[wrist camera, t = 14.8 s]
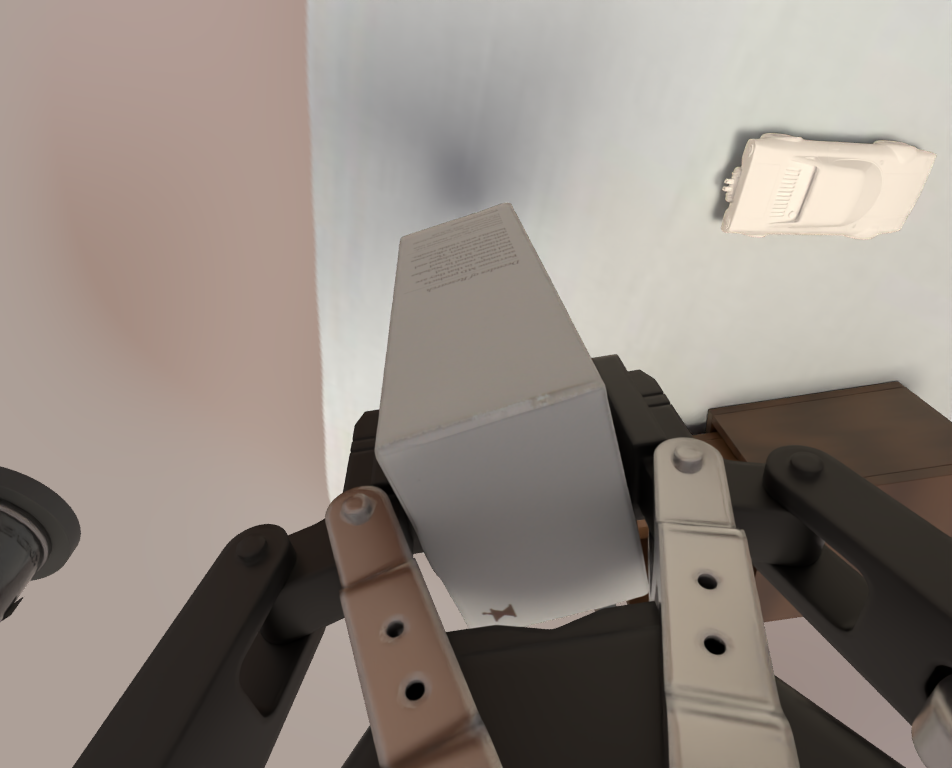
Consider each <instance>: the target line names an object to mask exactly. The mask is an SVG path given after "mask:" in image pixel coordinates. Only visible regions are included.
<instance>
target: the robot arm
mask: <svg viewBox="0 0 952 768" xmlns="http://www.w3.org/2000/svg"><path fill="white" fill-rule="evenodd" d="M591 359H592V361H593V363H594V365H595V367H596V369H597V370H598V372H599V375H600V377H601V379H602V380H603V382H604V384H605V387H606V392H607V398H608V403H609V407H610V411H611V416H612V420H613V424H614V429H615V434H616V438H617V442H618V447H619V451H620V456H621V460H622V465H623V469H624V474H625V478H626V483H627V487H628V491H629V495H630V499H631V503H632V507H633V511H634V515H635V518H636V521H637V520H643V519H645V521H646V523H647V526H648V528H649V532H648V577H649V602H643V603H636V604H629V605H624V606H616V607H610V608H603V609H601V610H598V611H596V612H594V613H591V614H589V615H587V616H584V617H582V618H580V619H577V620H575V621H572V622H570V623H568V624H566V625H563V626H561V627H558V628H556V629H550V630H549V629H537V628H527V627H517V626H506V625H491V626H484V627H477V628H471V629H464V630H458V631H451V632H445V630H444V627H443V625H442V622H441V620H440V617H439V615H438V612H437V610H436V608H435V605H434V603H433V600H432V598H431V595H430V593H429V591H428V588H427V585H426V583H425V581H424V578H423V576H422V573H421V571H420V569H419V566H418V564H417V562H416V559H415V558H413V554H416V553H422V552H424V551H423V549H422V546H421V544H420V541H419V538H418V536H417V534H416V532H415V529H414V527H413V525H412V523H411V521H410V520H409V518H408V516H407V514H406V512H405V511H404V509H403V507H402V505H401V503H400V501H399V499H398V498H397V496H396V494H395V492H394V490H393V488H392V487H391V485H390V483H389V481H388V479H387V478H386V476H385V474H384V472H383V470H382V468H381V467H380V465H379V463H378V461H377V459H376V455H375V442H376V434H377V426H378V420H379V410H380V409H379V410H373V411H367V412H364V414H363V415H362V416H361V418H360V419H359V420H358V422H357V423H356V424H355V428H354V433H353V442H352V444H351V450H350V451H351V453H350V456H349V461H348V467H347V472H346V478H345V484H344V489H343V493H342V494H340V495H339V496H338V497H336V498H335V499H334V500H333V501H332V502H331V504H330V505H329V507H328V509H327V511H326V515H325V519H323V520H322V521H320V522H318V523H317V524H314V525H312V526H310V527H307V528H305V529H303V530H300V531H298V532H295V533H293V534H291V535H287V533H286V531H285V530H284V529H283V528H281V527H280V526H277V525H273V524H264V525H258V526H254V527H252V528H249V529H247V530H245V531H243V532H242V533H240V534H238V535H237V536H236V537H234V538H233V539H232V540H231V541H230V542H229V543H228V544H227V545H226V547H225V548H224V549H223V551H222V552H221V554H220V555H219V556H218V558H217V559H216V561H215V562H214V564H213V565H212V567H211V568H210V569H209V571H208V572H207V574H206V575H205V577H204V578H203V579H202V581H201V582H200V584H199V585H198V587H197V588H196V590H195V591H194V593H193V594H192V595H191V597H190V598H189V600H188V601H187V603H186V604H185V605H184V607H183V609H182V610H181V611H180V613H179V614H178V616H177V617H176V619H175V620H174V621H173V623H172V624H171V626H170V627H169V629H168V630H167V631H166V633H165V635H164V636H163V637H162V639H161V640H160V642H159V643H158V645H157V646H156V648H155V649H154V650H153V652H152V653H151V655H150V656H149V657H148V659H147V660H146V662H145V663H144V665H143V666H142V668H141V669H140V671H139V672H138V673H137V675H136V676H135V678H134V679H133V681H132V682H131V684H130V685H129V687H128V688H127V690H126V691H125V692H124V694H123V695H122V697H121V698H120V699H119V701H118V702H117V704H116V705H115V707H114V708H113V710H112V711H111V712H110V714H109V716H108V717H107V718H106V720H105V721H104V723H103V724H102V725H101V727H100V728H99V730H98V731H97V733H96V734H95V736H94V737H93V738H92V740H91V741H90V743H89V744H88V746H87V747H86V749H85V750H84V752H83V753H82V754H81V756H80V757H79V759H78V760H77V762H76V763H75V765H74V766H73V767H72V768H264V767H265V765H266V763H267V761H268V759H269V756H270V754H271V752H272V749H273V747H274V745H275V743H276V740H277V738H278V736H279V733H280V731H281V729H282V727H283V724H284V722H285V720H286V718H287V715H288V713H289V711H290V708H291V706H292V704H293V702H294V699H295V697H296V695H297V693H298V690H299V688H300V686H301V684H302V681H303V679H304V676H305V674H306V672H307V670H308V668H309V665H310V663H311V661H312V659H313V656H314V654H315V652H316V649H317V647H318V644H319V643H320V640H321V638H322V636H323V634H324V631H325V628H326V626H328V625H330V624H332V623H334V622H336V621H338V620H340V619H343V618H345V621H346V625H347V629H348V634H349V638H350V642H351V646H352V650H353V655H354V659H355V663H356V667H357V672H358V676H359V680H360V684H361V688H362V693H363V697H364V700H365V705H366V710H367V714H368V718H369V722H370V726H369V727H368V729H367V730H366V732H365V733H364V735H363V736H362V738H361V739H360V741H359V742H358V744H357V745H356V747H355V748H354V749H353V751H352V752H351V754H350V756H349V757H348V758H347V760H346V761H345V763H344V764H343V766H342V767H341V768H906V767H904V766H902V765H901V764H900V763H898V762H897V761H896V760H894V759H893V758H891V757H890V756H888V755H887V754H886V753H884V752H883V751H881V750H880V749H879V748H877V747H876V746H874V745H873V744H871V743H870V742H869V741H867V740H866V739H864V738H863V737H862V736H860V735H859V734H857V733H856V732H854V731H853V730H852V729H850V728H849V727H847V726H846V725H844V724H843V723H842V722H840V721H839V720H837V719H836V718H835V717H833V716H832V715H830V714H829V713H827V712H826V711H825V710H823V709H822V708H820V707H819V706H817V705H816V704H815V703H813V702H812V701H810V700H809V699H808V698H806V697H805V696H803V695H802V694H800V693H799V692H798V691H796V690H795V689H793V688H792V687H791V686H789V685H788V684H786V683H785V682H783V681H782V680H781V679H779V678H778V677H777V676H775V675H774V671H773V666H772V662H771V657H770V652H769V647H768V642H767V637H766V632H765V627H764V622H763V617H762V612H761V607H760V602H759V597H758V592H757V587H756V582H755V577H754V572H753V567H752V565H753V566H754V567H755V568H756V569H757V570H758V571H759V572H760V573H761V574H762V575H763V576H764V577H765V578H766V579H767V580H768V581H769V582H770V583H771V584H772V585H773V586H774V587H775V588H776V589H777V590H778V591H779V592H780V593H781V594H782V595H783V596H784V597H785V598H786V599H787V600H788V601H789V603H790V604H791V605H792V606H793V607H794V608H795V609H796V610H797V611H798V612H799V613H800V614H801V615H802V616H803V617H804V618H805V619H806V620H808V622H809V623H810V624H811V625H812V626H813V627H814V628H815V629H816V630H817V631H818V632H819V633H820V634H821V635H822V636H823V637H824V638H825V639H826V640H827V641H828V642H829V643H830V644H831V645H832V646H833V647H834V648H835V649H836V650H837V651H838V652H839V653H840V654H841V655H842V656H843V657H844V658H845V659H846V660H847V661H848V662H849V663H850V664H851V665H852V666H853V667H854V668H855V669H856V670H857V671H858V672H859V673H860V674H861V675H862V676H863V677H864V678H865V679H866V680H867V681H868V682H869V683H870V684H871V685H872V686H873V687H874V688H875V689H876V690H877V691H878V692H879V693H880V694H881V695H882V696H883V697H884V698H885V699H886V700H887V701H888V702H889V703H890V704H891V705H892V706H893V707H894V708H895V709H896V710H897V711H898V712H899V713H900V714H901V715H902V716H903V717H904V719H906V721H907V722H909V724H910V725H911V726H912V732H911V733H912V740H913V743H914V747H915V749H916V751H917V753H918V755H919V757H920V758H921V760H922V762H923V763H924V765H925V766H926V767H927V768H952V538H951V537H950V536H948V535H947V534H945V533H944V532H942V531H941V530H939V529H938V528H937V527H935V526H934V525H932V524H931V523H929V522H928V521H926V520H925V519H923V518H922V517H920V516H919V515H917V514H916V513H915V512H913V511H912V510H910V509H909V508H907V507H906V506H904V505H903V504H901V503H900V502H898V501H897V500H895V499H894V498H893V497H891V496H890V495H888V494H887V493H885V492H884V491H882V490H881V489H879V488H878V487H876V486H875V485H874V484H872V483H871V482H869V481H868V480H866V479H865V478H863V477H862V476H860V475H859V474H857V473H856V472H854V471H853V470H852V469H850V468H849V467H847V466H846V465H844V464H843V463H841V462H840V461H838V460H837V459H835V458H834V457H832V456H831V455H829V454H828V453H825V452H823V451H821V450H818V449H816V448H812V447H808V446H802V445H787V446H782V447H779V448H776V449H774V450H773V451H772V452H770V454H769V455H768V457H767V460H766V463H755V462H742V461H733V460H728V459H724V458H722V456H721V454H720V453H719V451H718V450H717V449H716V448H714V447H713V446H712V445H710V444H708V443H706V442H704V441H701V440H698V439H694V438H693V436H692V435H691V433H690V432H689V430H688V429H687V427H686V425H685V424H684V422H683V421H682V419H681V418H680V416H679V415H678V413H677V412H676V410H675V409H674V407H673V406H672V404H671V405H670V401H669V400H668V398H667V397H666V395H665V394H663V391H662V389H661V388H660V386H659V385H658V383H657V382H656V380H655V379H654V378H652V377H651V376H649V375H647V374H646V373H644V372H643V371H641V370H635V371H627V370H626V368H625V366H624V365H623V363H622V361H621V360H620V358H619V356H618V355H617V354H614V355H608V356H601V357H595V358H591ZM380 403H381V401H380ZM825 542H826V543H827V544H828V545H830V546H831V547H832V548H833V549H834V550H836V551H837V552H838V553H839V554H840V555H841V556H843V557H844V558H845V559H846V560H847V561H849V562H850V563H851V564H852V565H853V566H855V567H856V568H857V569H858V570H859V571H860V573H861V574H862V575H863V576H862V575H861V574H859V573H858V572H857V571H856V570H855V569H853V568H852V567H851V566H850V565H849V564H848V563H846V562H845V561H844V560H843V559H842V558H840V557H839V556H838V555H837V554H836V553H835V552H833V551H832V550H831V549H830V548H829V547H827V546H826V545H825V544H824V543H825ZM51 550H52V544H51V539H50V537H49V535H48V533H47V531H46V529H45V528H44V527H43V526H42V525H41V523H40V522H39V521H38V520H36V519H35V518H34V517H33V516H32V515H30V514H29V513H28V512H26V511H25V510H23V509H21V508H20V507H18V506H16V505H14V504H12V503H10V502H7V501H5V500H3V499H0V622H1V621H2V620H4V619H5V618H7V617H8V616H10V615H11V614H12V613H13V611H14V610H15V609H16V607H17V606H18V604H19V603H20V602H21V600H22V599H23V597H22V598H21V599H19V600H18V601H16V600H17V598H18V597H19V596H20V594H21V593H22V591H23V590H24V589H25V587H26V586H27V584H28V583H29V581H30V580H31V579H32V577H33V576H34V575H35V573H36V572H37V571H38V570H39V569H40V568H41V567H42V566H43V565H44V563H45V562H46V560H47V559H48V557H49V556H50V553H51ZM15 601H16V602H15ZM14 602H15V603H14Z"/></svg>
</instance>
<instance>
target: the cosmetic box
mask: <svg viewBox="0 0 952 768" xmlns="http://www.w3.org/2000/svg"><path fill="white" fill-rule="evenodd" d="M375 455H376V459H377V461H378V463H379V465H380V467H381V468H382V470H383V472H384V474H385V476H386V478H387V479H388V481H389V483H390V485H391V487H392V488H393V490H394V492H395V494H396V496H397V498H398V499H399V501H400V503H401V505H402V507H403V509H404V511H405V512H406V514H407V516H408V518H409V520H410V521H411V523H412V525H413V527H414V529H415V532H416V534H417V536H418V538H419V541H420V544H421V546H422V549H423V551H424V553H425V556H426V557H427V559H428V561H429V563H430V565H431V567H432V569H433V571H434V572H435V573H436V574H437V576H438V577H439V578H440V579H441V580H442V582H443V583H444V585H445V587H446V589H447V590H448V592H449V594H450V596H451V597H452V599H453V601H454V602H455V604H456V606H457V607H458V609H459V611H460V613H461V615H462V616H463V618H464V620H465V622H466V624H467V626H468V628H469V629H471V628H477V627H484V626H491V625H506V626H517V627H526V626H530V625H534V624H538V623H542V622H545V621H550V620H554V619H558V618H563V617H567V616H571V615H575V614H578V613H582V612H587V611H591V610H595V609H599V608H603V607H606V606H610V605H614V604H617V603H621V602H624V601H628V600H631V599H634V598H637V597H642V596H644V595H646V594H648V592H649V584H648V579H647V573H646V568H645V562H644V556H643V550H642V545H641V540H640V535H639V530H638V525H637V522H636V518H635V515H634V511H633V507H632V503H631V499H630V495H629V491H628V487H627V483H626V478H625V474H624V469H623V465H622V460H621V456H620V451H619V447H618V442H617V438H616V434H615V429H614V424H613V420H612V416H611V411H610V407H609V403H608V398H607V392H606V387H605V384H604V382H603V380H602V379H601V377H600V375H599V372H598V370H597V369H596V367H595V365H594V363H593V361H592V359H591V357H590V355H589V353H588V351H587V349H586V347H585V345H584V343H583V342H582V340H581V338H580V336H579V334H578V332H577V330H576V328H575V326H574V324H573V323H572V321H571V318H570V316H569V314H568V312H567V310H566V308H565V306H564V304H563V303H562V301H561V299H560V297H559V295H558V293H557V291H556V289H555V287H554V285H553V283H552V282H551V279H550V277H549V275H548V273H547V271H546V269H545V268H544V266H543V264H542V262H541V260H540V258H539V256H538V254H537V252H536V250H535V249H534V247H533V245H532V243H531V241H530V239H529V237H528V235H527V233H526V231H525V229H524V227H523V225H522V224H521V222H520V220H519V218H518V216H517V214H516V212H515V211H514V209H513V207H512V204H511V203H502V204H499V205H496V206H494V207H491V208H488V209H485V210H482V211H480V212H477V213H474V214H470V215H468V216H465V217H462V218H458V219H455V220H452V221H449V222H446V223H442V224H439V225H436V226H433V227H430V228H427V229H424V230H421V231H418V232H415V233H412V234H409V235H406V236H403V237H402V238H401V239H400V244H399V253H398V262H397V270H396V278H395V286H394V294H393V303H392V310H391V319H390V327H389V336H388V345H387V352H386V361H385V368H384V377H383V385H382V393H381V403H380V410H379V420H378V426H377V434H376V442H375Z"/></svg>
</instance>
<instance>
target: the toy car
mask: <svg viewBox="0 0 952 768" xmlns="http://www.w3.org/2000/svg"><path fill="white" fill-rule="evenodd" d="M936 156H937V155H936V154H934V153H932V152H928V151H925V150H920V149H916V147H914V146H910V145H908V144H906V143H902V142H896V141H887V140H879V141H875V142H874V143H873V144H862V143H846V142H828V141H813V140H804V139H802V137H793V136H790V135H785V134H778V133H766V134H763V135H762V136H761V138H760V139H749V140H748V142H747V144H746V147H745V150H744V153H743V156H742V166H741V167H736V168H735V169H734V171H733V172H732V178H731V179H726V180H725V183H726V184H729V187H723V189H722V190H723V191H727V193H726V194H725V195H726V197H725V200H726V201H727V202H730V205H729V208H728V209H727V210H726V211H725V214H724V217H723V221H722V225H721V230H722V231H723V232H725V233H742V234H744V235H747V236H751V237H765V236H766V235H768V234H795V235H842V236H846V237H850V238H854V239H861V240H866V239H871V238H874V237H875V236H877V235H878V234H885V233H892V232H896V231H899V230H900V229H901V227H902V225H903V224H904V222H905V220H906V219H907V217H908V215H909V213H910V212H911V210H912V208H913V206H914V205H915V203H916V201H917V199H918V197H919V195H920V193H921V191H922V189H923V187H924V185H925V182H926V180H927V178H928V175H929V173H930V171H931V168H932V166H933V163H934V161H935V158H936Z"/></svg>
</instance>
